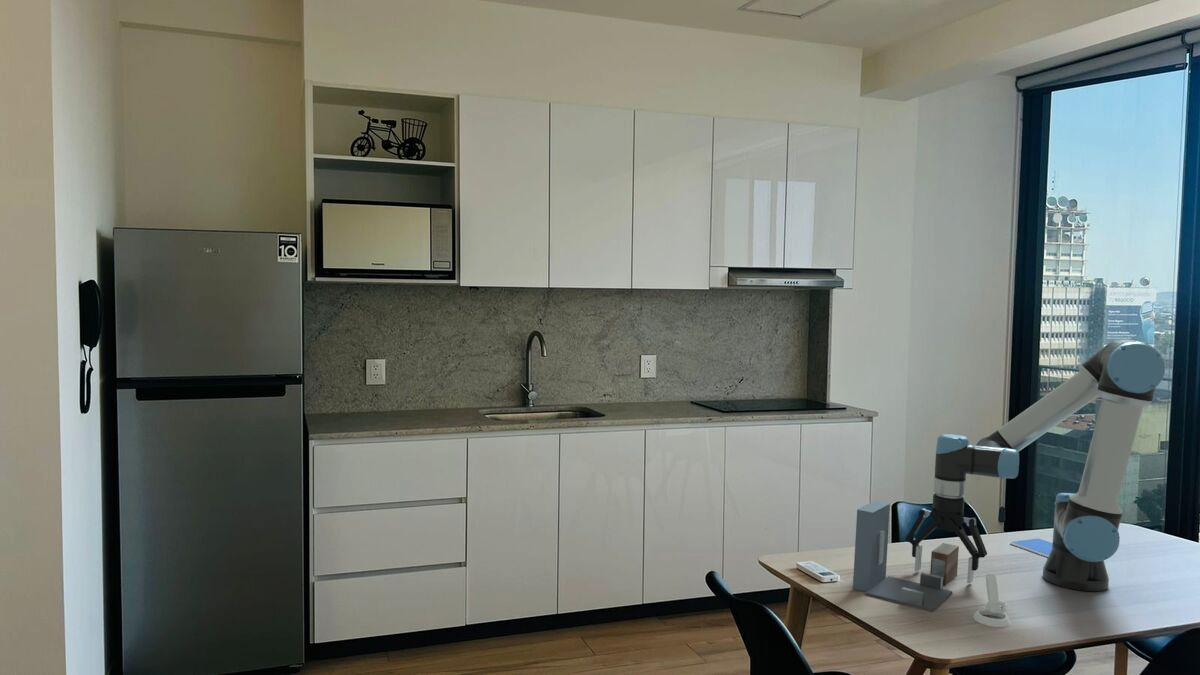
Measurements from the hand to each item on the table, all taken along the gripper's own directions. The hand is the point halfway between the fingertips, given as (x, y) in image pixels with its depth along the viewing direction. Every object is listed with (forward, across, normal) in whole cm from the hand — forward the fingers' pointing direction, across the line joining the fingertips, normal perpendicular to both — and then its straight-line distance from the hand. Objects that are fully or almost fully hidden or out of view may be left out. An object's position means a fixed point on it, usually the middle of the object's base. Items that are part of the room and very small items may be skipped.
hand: (943, 575), depth 229 cm
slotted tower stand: (+1, +5, +18) cm, 19 cm away
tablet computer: (+1, -17, -47) cm, 50 cm away
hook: (+1, -17, +22) cm, 28 cm away
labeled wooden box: (+1, 0, 0) cm, 1 cm away
